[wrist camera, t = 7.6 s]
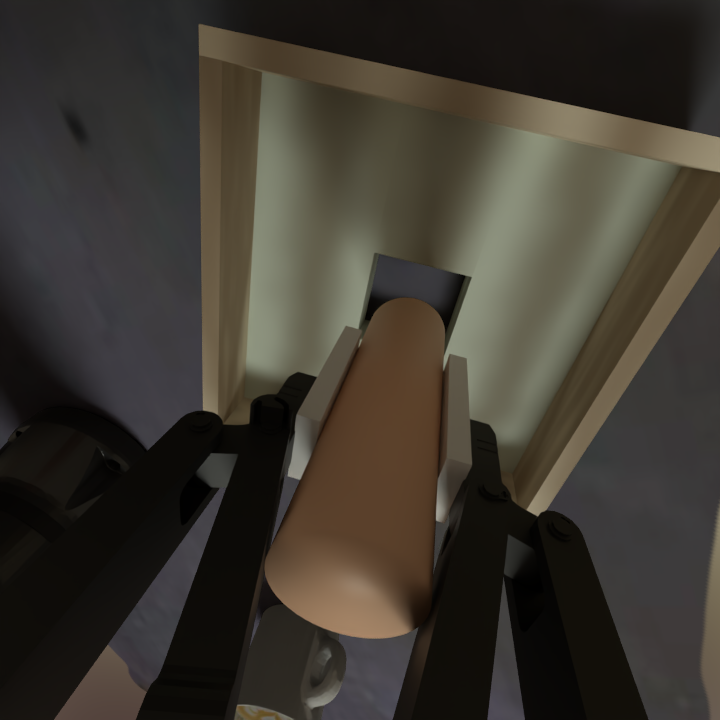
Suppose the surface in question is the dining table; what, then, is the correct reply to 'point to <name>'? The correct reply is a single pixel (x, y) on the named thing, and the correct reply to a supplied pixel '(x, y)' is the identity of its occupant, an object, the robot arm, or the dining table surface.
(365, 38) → the dining table surface
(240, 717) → the coffee mug
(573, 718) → the robot arm
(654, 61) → the dining table surface
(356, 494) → the peg
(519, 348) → the box
